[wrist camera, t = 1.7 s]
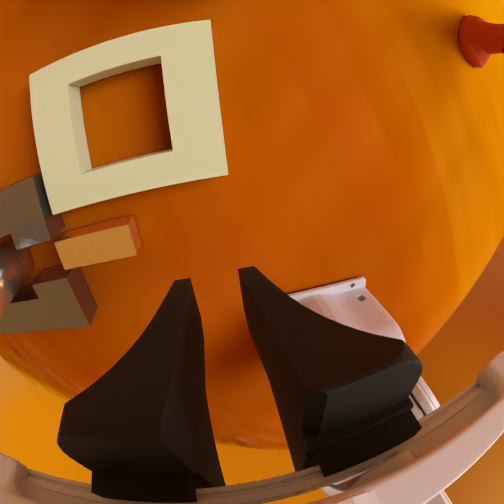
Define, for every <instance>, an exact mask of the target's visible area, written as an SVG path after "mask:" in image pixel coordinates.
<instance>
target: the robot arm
mask: <svg viewBox="0 0 504 504" xmlns="http://www.w3.org/2000/svg"><path fill="white" fill-rule="evenodd" d="M238 273H239V279H240V286H241V293H242V299H243V306H244V312H245V315H246V319H247V323H248V327H249V331H250V334H251V336H252V339H253V341H254V344H255V346H256V349H257V351H258V354H259V356H260V359H261V361H262V364H263V366H264V369H265V371H266V373H267V376H268V379H269V382H270V385H271V388H272V392H273V395H274V398H275V402H276V405H277V409H278V412H279V416H280V419H281V422H282V426H283V429H284V433H285V436H286V440H287V443H288V447H289V450H290V454H291V458H292V461H293V465H294V468H295V472H294V473H290V474H286V475H282V476H278V477H274V478H269V479H265V480H259V481H254V482H249V483H243V484H236V485H230V486H226V485H225V482H224V478H223V474H222V470H221V467H220V463H219V459H218V454H217V450H216V446H215V441H214V436H213V431H212V426H211V421H210V416H209V410H208V404H207V398H206V388H205V359H204V336H203V329H202V321H201V316H200V313H199V309H198V305H197V302H196V298H195V294H194V291H193V287H192V283H191V279H190V278H187V279H181V280H176V281H174V283H173V284H172V286H171V288H170V290H169V292H168V293H167V295H166V297H165V299H164V301H163V302H162V304H161V306H160V307H159V309H158V311H157V312H156V314H155V316H154V317H153V319H152V320H151V322H150V323H149V325H148V326H147V328H146V329H145V331H144V332H143V333H142V335H141V336H140V337H139V339H138V340H137V341H136V342H135V343H134V345H133V346H132V347H131V348H130V349H129V351H128V352H127V353H126V354H125V355H124V356H123V357H122V358H121V359H120V360H119V361H118V362H117V363H116V364H115V365H114V366H113V367H112V368H111V369H110V370H109V371H108V372H106V373H105V374H104V375H103V376H102V377H101V378H99V379H98V380H97V381H96V382H95V383H93V384H92V385H91V386H90V387H88V388H87V389H86V390H84V391H83V392H81V393H80V394H78V395H77V396H75V397H74V398H73V399H71V400H70V401H68V402H66V403H65V405H64V409H63V413H62V418H61V422H60V427H59V432H58V438H57V444H58V445H59V447H60V448H61V450H62V451H63V452H64V453H65V454H67V455H68V456H69V457H71V458H72V459H74V460H75V461H76V462H78V463H79V464H81V465H83V466H84V467H86V468H87V469H89V470H91V471H92V483H91V484H88V483H83V482H77V481H72V480H68V479H63V478H59V477H55V476H51V475H48V474H44V473H41V472H37V471H34V470H31V469H28V468H27V467H26V466H24V465H23V464H22V463H20V462H19V461H17V460H15V459H13V458H11V457H9V456H6V455H4V454H1V453H0V504H262V503H267V502H272V501H276V500H281V499H285V498H288V497H293V496H296V495H300V494H304V493H307V492H310V491H314V490H317V489H320V490H322V491H323V492H324V493H325V494H326V495H327V496H328V497H327V498H324V499H321V500H318V501H314V502H310V503H307V504H452V503H451V501H450V500H449V498H448V496H447V495H446V493H445V491H444V489H446V488H447V487H448V486H449V485H451V484H452V483H453V482H454V481H455V480H457V478H459V477H460V476H461V475H462V474H463V473H465V472H466V471H467V470H468V469H469V468H470V467H471V466H472V465H473V464H474V463H475V462H476V461H477V460H478V459H479V458H480V457H481V456H482V455H483V454H484V453H485V452H486V451H487V450H488V449H489V448H490V447H491V446H492V444H494V442H495V441H496V440H497V439H498V438H499V437H500V436H501V435H502V433H503V432H504V352H503V351H502V352H500V353H499V354H498V355H497V356H496V357H495V358H494V359H492V360H491V361H490V362H489V363H488V364H487V365H486V366H485V367H484V368H483V370H482V371H481V373H480V374H479V375H478V377H477V379H476V380H475V381H474V382H473V383H472V384H470V385H469V386H468V387H467V388H465V389H464V390H463V391H461V392H460V393H459V394H457V395H456V396H454V397H453V398H452V399H450V400H449V401H447V402H446V403H444V404H443V405H442V406H440V405H439V403H438V401H437V400H436V398H435V397H434V395H433V393H432V392H431V390H430V389H429V387H428V386H427V384H426V383H425V381H424V380H423V379H422V377H421V373H422V363H421V362H420V360H419V359H418V358H417V356H416V355H415V354H414V352H413V351H412V350H411V349H410V347H409V346H408V345H407V344H406V343H405V339H404V336H403V334H402V331H401V329H400V328H399V326H398V324H397V323H396V322H395V320H394V319H393V318H392V317H391V316H390V315H389V313H388V312H387V311H386V310H385V309H384V308H383V307H382V306H381V304H380V303H379V302H378V301H377V300H376V299H375V298H374V297H373V295H372V294H371V293H370V292H369V291H368V290H367V289H366V288H365V284H366V280H365V278H364V277H358V278H354V279H350V280H346V281H342V282H338V283H334V284H330V285H326V286H322V287H317V288H313V289H309V290H305V291H300V292H296V293H291V294H286V293H285V292H283V291H282V290H281V289H280V288H278V287H277V286H276V285H275V284H273V283H272V282H271V281H270V280H269V279H268V278H266V277H265V276H264V275H263V274H262V273H261V272H260V271H259V270H258V269H257V268H256V267H254V266H252V267H246V268H241V269H238ZM352 283H353V284H352ZM351 284H352V285H351ZM350 285H351V286H350ZM420 409H421V410H422V412H423V414H422V412H421V411H420Z"/></svg>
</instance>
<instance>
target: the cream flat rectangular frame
mask: <svg viewBox="0 0 504 504" xmlns="http://www.w3.org/2000/svg"><path fill="white" fill-rule="evenodd" d="M160 63H162V72H163V81H164V90H165V98H166V106H167V114H168V121H169V128H170V135H171V142H172V149H167V150H163V151H158V152H153V153H149V154H145V155H140V156H136V157H132V158H128V159H124V160H121V161H117V162H113V163H110V164H106V165H103V166H99V167H96V168H92V166H91V161H90V156H89V151H88V146H87V140H86V134H85V128H84V121H83V114H82V106H81V97H80V87H81V86H84V85H87V84H89V83H92V82H95V81H98V80H101V79H104V78H107V77H110V76H113V75H116V74H120V73H123V72H127V71H130V70H134V69H138V68H142V67H146V66H151V65H155V64H160ZM29 81H30V99H31V110H32V120H33V127H34V135H35V141H36V147H37V152H38V158H39V163H40V167H41V172H42V176H43V181H44V185H45V189H46V193H47V196H48V200H49V204H50V207H51V210H52V214H53V215H55V214H58V213H61V212H64V211H68V210H71V209H75V208H78V207H81V206H85V205H89V204H92V203H96V202H100V201H103V200H107V199H111V198H115V197H119V196H123V195H127V194H131V193H136V192H140V191H144V190H149V189H154V188H158V187H163V186H168V185H173V184H178V183H183V182H188V181H194V180H199V179H205V178H211V177H217V176H223V175H228V169H227V161H226V153H225V145H224V137H223V129H222V120H221V112H220V104H219V95H218V86H217V77H216V68H215V59H214V50H213V41H212V31H211V21H210V20H202V21H194V22H187V23H181V24H175V25H169V26H164V27H159V28H154V29H150V30H145V31H141V32H137V33H133V34H130V35H126V36H123V37H119V38H116V39H113V40H109V41H106V42H103V43H100V44H98V45H95V46H92V47H89V48H87V49H84V50H82V51H79V52H77V53H74V54H72V55H69V56H67V57H65V58H63V59H60V60H58V61H56V62H54V63H52V64H50V65H48V66H46V67H44V68H42V69H40V70H38V71H36V72H34V73H32V74H31V75H29Z"/></svg>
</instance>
